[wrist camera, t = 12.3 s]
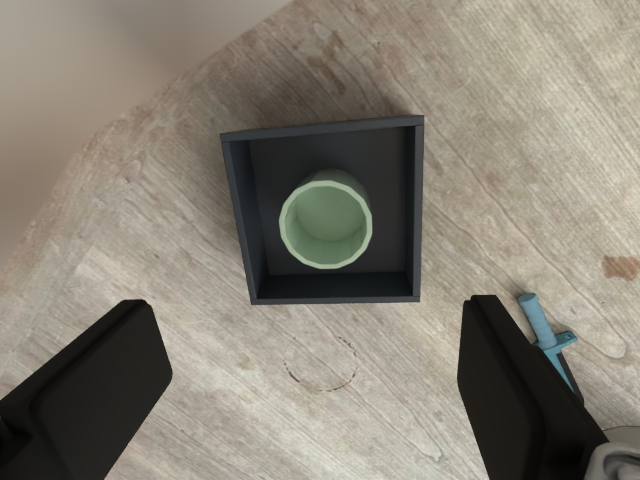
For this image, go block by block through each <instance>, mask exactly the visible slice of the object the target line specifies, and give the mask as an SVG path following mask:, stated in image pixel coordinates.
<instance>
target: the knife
mask: <svg viewBox="0 0 640 480" xmlns="http://www.w3.org/2000/svg"><path fill="white" fill-rule="evenodd" d="M518 302H519V304H520V305H522V307H523V309H524V311H525V313H526V315H527V317H528V319H529V321H530V323H531V325H532V327H533V329H534V331H535V333H536V335H537V337H538V339H539V342H537V343H534V344H531V345H537V346H539V347H540V348H541V349H542V350H543V351H544V353H545V354H546V355H547V357H548V358H549V359H550V361H551V362H552V363H553V365H554V366H555V368H556V369H557V370H558V372H559V373H560V374H561V376H562V377H563V378H564V380H565V381H566V382H567V384H568V385H569V387H570V388H571V389H572V391H573V392H574V393H575V395H576V396H577V397H578V399H579V400H580V401H581V403H582V404H583V405H584V399H583V396H582V394H581V392H580V390H579V388H578V386H577V384H576V381H575V379H574V377H573V375H572V373H571V371H570V369H569V367H568V365H567V363H566V361H565V359H564V356H563V354H562V352H561V350H560V348H562V347H565V346H568V345H569V344H571V343H573V342H575V341H577V340H578V339H577V337H576V336H575V335H574V334H573V332H572V331H569V332H566V333H562V334H558V335H555V336H554V334H553V332H552V329H551V327H550V325H549V323H548V321H547V319H546V317H545V315H544V313H543V311H542V308H541V306H540V304H539V302H538V297H537V295H536V294H535V293H527V294H524V295H522V296H521V297H520V298H519V299H518ZM567 337H570V338H567Z"/></svg>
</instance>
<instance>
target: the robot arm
mask: <svg viewBox="0 0 640 480" xmlns="http://www.w3.org/2000/svg"><path fill="white" fill-rule="evenodd" d="M172 375H173V372H172V368H171V365H170V362H169V359H168V356H167V352H166V349H165V346H164V343H163V340H162V337H161V334H160V331H159V328H158V325H157V322H156V319H155V315H154V312H153V309H152V307H151V306H150V305H149V304H147V302H146V301H145V300H142V299H135V300H123V301H121V302H120V303H118V304H117V305H116V306H115V307H114V308H112V309H111V310H110V311H109V312H108V313H106V314H105V315H104V316H103V317H101V318H100V319H99V320H98V321H97V322H95V323H94V324H93V325H92V326H90V327H89V328H88V329H87V330H86V331H84V332H83V333H82V334H81V335H79V336H78V337H77V338H76V339H75V340H73V341H72V342H71V343H70V344H69V345H67V346H66V347H65V348H64V349H62V350H61V351H60V352H59V353H58V354H56V355H55V356H54V357H53V358H51V359H50V360H49V361H48V362H47V363H45V364H44V365H43V366H42V367H40V368H39V369H38V370H37V371H36V372H34V373H33V374H32V375H31V376H29V377H28V378H27V379H26V380H25V381H23V382H22V383H21V384H20V385H19V386H17V387H16V388H15V389H14V390H12V391H11V392H10V393H9V394H8V395H6V396H5V397H4V398H3V399H1V400H0V417H1V418H0V480H104V478H105V477H106V476H107V474H108V473H109V471H110V470H111V468H112V467H113V465H114V464H115V462H116V461H117V460H118V458H119V457H120V455H121V454H122V452H123V451H124V449H125V448H126V446H127V445H128V443H129V442H130V441H131V439H132V438H133V436H134V435H135V433H136V432H137V430H138V429H139V427H140V426H141V425H142V423H143V422H144V420H145V419H146V417H147V416H148V414H149V413H150V411H151V410H152V409H153V407H154V406H155V404H156V403H157V401H158V400H159V398H160V397H161V395H162V394H163V392H164V391H165V390H166V388H167V387H168V385H169V384H170V382H171V379H172ZM457 382H458V388H459V392H460V394H461V397H462V400H463V403H464V406H465V409H466V412H467V415H468V418H469V421H470V424H471V427H472V429H473V432H474V435H475V438H476V441H477V444H478V447H479V450H480V453H481V456H482V459H483V462H484V465H485V467H486V470H487V473H488V476H489V479H490V480H640V447H638V446H636V445H631V444H626V443H621V442H610V441H609V439H608V438H607V437H606V435H605V434H604V433H603V431H602V430H601V429H600V427H599V426H598V424H597V423H596V422H595V420H594V419H593V418H592V416H591V415H590V414H589V412H588V411H587V410H586V408H585V407H584V405H583V404H582V403H581V401H580V400H579V399H578V397H577V396H576V395H575V393H574V392H573V391H572V389H571V388H570V387H569V385H568V384H567V382H566V381H565V380H564V378H563V377H562V376H561V374H560V373H559V372H558V370H557V369H556V368H555V366H554V365H553V363H552V362H551V361H550V359H549V358H548V357H547V355H546V354H545V353H544V351H543V350H542V349H541V348H540V347H539V346H537V345H531V344H530V342H529V341H528V340H527V338H526V337H525V335H524V334H523V333H522V331H521V330H520V328H519V327H518V326H517V324H516V323H515V321H514V320H513V318H512V317H511V316H510V314H509V313H508V311H507V310H506V309H505V307H504V306H503V304H502V303H501V301H500V300H499V299H498V297H497V296H496V295H472V296H471V299H470V300H465V301H464V304H463V315H462V326H461V338H460V349H459V361H458V372H457Z"/></svg>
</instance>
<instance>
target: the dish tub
mask: <svg viewBox="0 0 640 480" xmlns="http://www.w3.org/2000/svg"><path fill="white" fill-rule="evenodd" d="M220 139H221V145H222V150H223V156H224V161H225V166H226V172H227V177H228V182H229V188H230V193H231V199H232V204H233V209H234V215H235V220H236V226H237V231H238V236H239V242H240V247H241V252H242V258H243V263H244V269H245V274H246V279H247V285H248V290H249V296H250V301H251V305H280V304H340V303H399V302H420V286H421V242H422V198H423V154H424V115H403V116H392V117H381V118H370V119H359V120H348V121H337V122H326V123H315V124H303V125H292V126H281V127H270V128H259V129H248V130H239V131H233V132H226V133H220ZM328 168H333V169H340V170H343V171H346V172H348V173H350V174H352V175H353V176H355V177H356V178H357V179H358V180H359V181H360V182H361V183H362V185H363V186H364V188H365V189H366V191H367V194H368V197H369V199H370V206H371V214H372V236H371V238H370V240H369V243H368V245H367V248H366V250H365V251H364V252H363V253H362V254H361V255H360V256H359V257H358V258H357V259H356V260H355V261H354V262H352V263H349V264H347V265H344V266H342V267H340V268H335V269H319V268H316V267H313V266H310V265H307V264H304V263H302V262H301V261H300V260H299V259H297V258H296V257H295V256H294V255H292V254H291V253H290V252H289V250H288V248H287V247H286V245H285V243H284V242H283V240H282V238H281V233H280V226H279V218H280V214H281V211H282V207H283V204H284V202H285V201H286V200H287V199H288V197H289V196H290V195H291V194H292V193H293V191H294V190H295V189H296V188H297V187H298V185H299V184H300V183H301V182H302V181H303V179H304V178H305V177H307V176H308V175H310V174H312V173H313V172H316V171H318V170H322V169H328Z"/></svg>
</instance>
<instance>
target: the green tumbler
mask: <svg viewBox="0 0 640 480" xmlns="http://www.w3.org/2000/svg"><path fill="white" fill-rule="evenodd" d="M279 226H280V233H281V238H282V240H283V242H284V243H285V245H286V247H287V248H288V250H289V252H290V253H291V254H292V255H294V256H295V257H296V258H297V259H299V260H300V261H301V262H302V263H304V264H307V265H310V266H313V267H316V268H319V269H335V268H340V267H342V266H344V265H347V264H349V263H352V262H354V261H355V260H356V259H357V258H358V257H359V256H360V255H361V254H362V253H363V252H364V251H365V250H366V248H367V245H368V243H369V240H370V238H371V236H372V214H371V206H370V199H369V197H368V194H367V191H366V189H365V188H364V186H363V185H362V183H361V182H360V181H359V180H358V179H357V178H356V177H355V176H353V175H352V174H350V173H348V172H346V171H343V170H340V169H333V168H328V169H322V170H318V171H316V172H313V173H312V174H310V175H308V176H307V177H305V178H304V179H303V181H302V182H301V183H300V184H299V185H298V187H297V188H296V189H295V190H294V191H293V193H292V194H291V195H290V196H289V197H288V199H287V200H286V201H285V202H284V204H283V207H282V211H281V214H280V218H279Z"/></svg>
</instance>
